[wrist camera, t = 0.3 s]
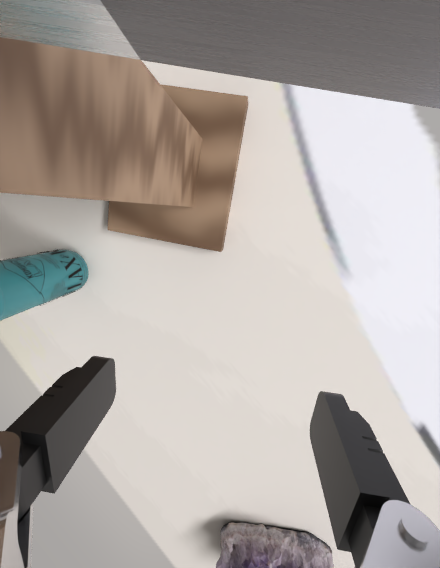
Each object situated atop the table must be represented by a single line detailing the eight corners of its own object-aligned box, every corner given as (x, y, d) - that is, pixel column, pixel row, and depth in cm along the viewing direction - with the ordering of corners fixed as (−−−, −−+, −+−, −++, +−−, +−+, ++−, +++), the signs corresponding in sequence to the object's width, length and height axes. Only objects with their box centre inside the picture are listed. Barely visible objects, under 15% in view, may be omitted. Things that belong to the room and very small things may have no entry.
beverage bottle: (91, 293, 42) (-49, 362, 23) (53, 278, 42) (-117, 333, 23) (99, 255, 40) (-46, 294, 21) (59, 240, 40) (-121, 264, 21)
